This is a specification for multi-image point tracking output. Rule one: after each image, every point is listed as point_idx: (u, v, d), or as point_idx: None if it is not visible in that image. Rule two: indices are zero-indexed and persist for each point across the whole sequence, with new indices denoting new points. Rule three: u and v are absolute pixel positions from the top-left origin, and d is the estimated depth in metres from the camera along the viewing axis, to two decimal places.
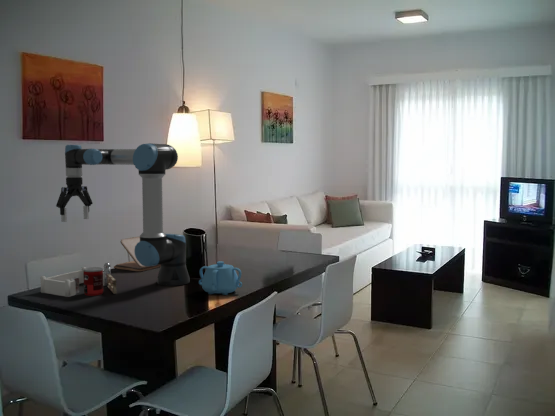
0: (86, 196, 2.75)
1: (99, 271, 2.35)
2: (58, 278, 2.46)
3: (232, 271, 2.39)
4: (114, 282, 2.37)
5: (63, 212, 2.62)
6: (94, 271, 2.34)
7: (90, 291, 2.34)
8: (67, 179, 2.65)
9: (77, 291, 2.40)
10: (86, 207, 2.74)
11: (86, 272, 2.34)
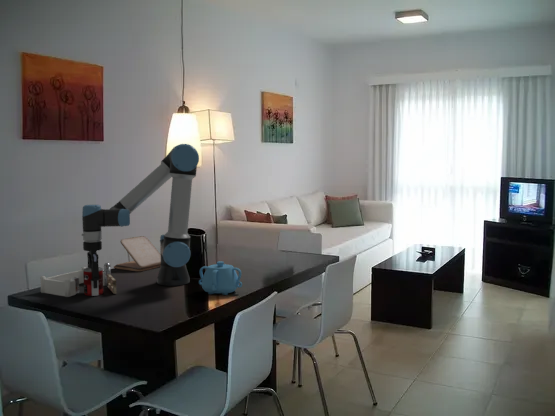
0: None
1: (99, 271, 2.35)
2: (58, 278, 2.46)
3: (232, 271, 2.39)
4: (114, 282, 2.37)
5: (97, 285, 2.34)
6: None
7: (90, 290, 2.34)
8: (92, 244, 2.33)
9: (77, 291, 2.40)
10: None
11: (86, 271, 2.34)
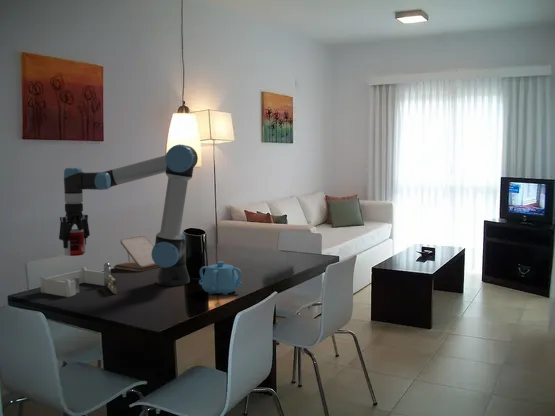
0: (84, 226, 2.50)
1: (71, 232, 2.41)
2: (58, 278, 2.46)
3: (232, 271, 2.39)
4: (114, 282, 2.37)
5: (67, 245, 2.41)
6: None
7: None
8: (66, 206, 2.41)
9: (77, 291, 2.40)
10: None
11: None
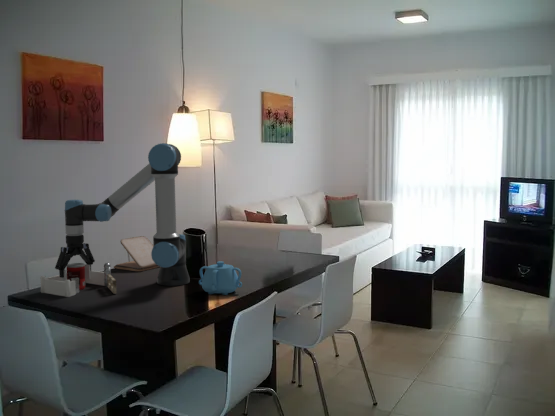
0: (88, 254, 2.52)
1: (73, 267, 2.43)
2: (58, 278, 2.46)
3: (232, 271, 2.39)
4: (114, 282, 2.37)
5: (63, 274, 2.40)
6: (68, 267, 2.43)
7: None
8: (67, 238, 2.42)
9: (77, 291, 2.40)
10: (88, 266, 2.52)
11: None
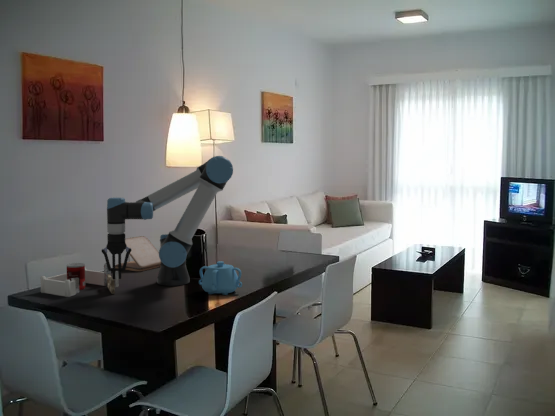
0: None
1: (73, 267, 2.43)
2: (58, 278, 2.46)
3: (232, 271, 2.39)
4: (112, 282, 2.36)
5: (114, 276, 2.41)
6: (68, 267, 2.43)
7: None
8: None
9: (77, 291, 2.40)
10: None
11: None
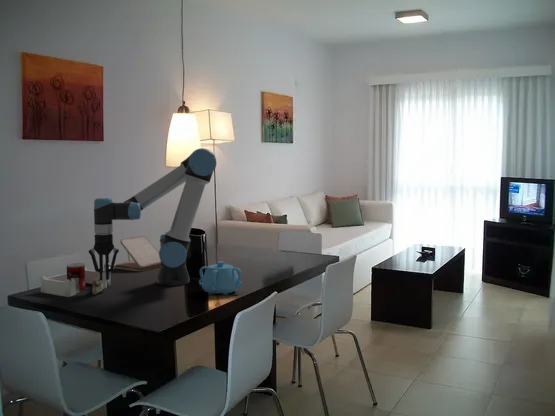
0: (112, 260, 2.41)
1: (73, 267, 2.43)
2: (58, 278, 2.46)
3: (232, 271, 2.39)
4: (93, 283, 2.35)
5: (101, 277, 2.40)
6: (68, 267, 2.43)
7: None
8: None
9: (77, 291, 2.40)
10: None
11: None
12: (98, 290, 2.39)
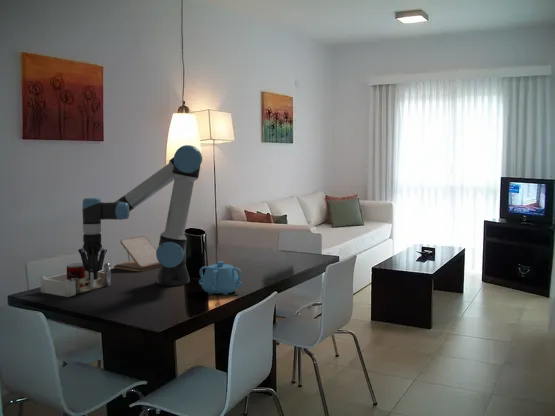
0: None
1: (73, 267, 2.43)
2: (58, 278, 2.46)
3: (232, 271, 2.39)
4: (75, 282, 2.37)
5: (90, 276, 2.42)
6: (68, 267, 2.43)
7: None
8: None
9: None
10: None
11: None
12: (83, 289, 2.40)
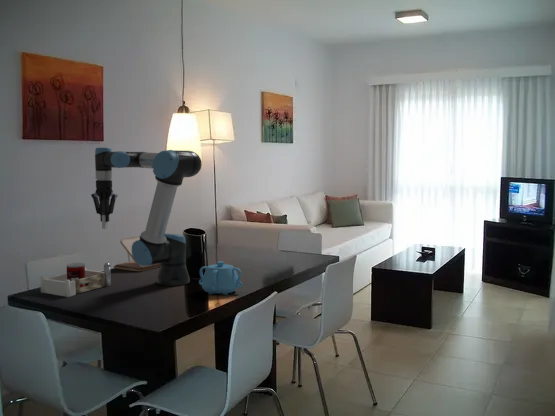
0: None
1: (73, 267, 2.43)
2: (58, 278, 2.46)
3: (232, 271, 2.39)
4: (75, 282, 2.37)
5: (101, 219, 2.67)
6: (68, 267, 2.43)
7: None
8: None
9: None
10: None
11: None
12: (83, 289, 2.40)
